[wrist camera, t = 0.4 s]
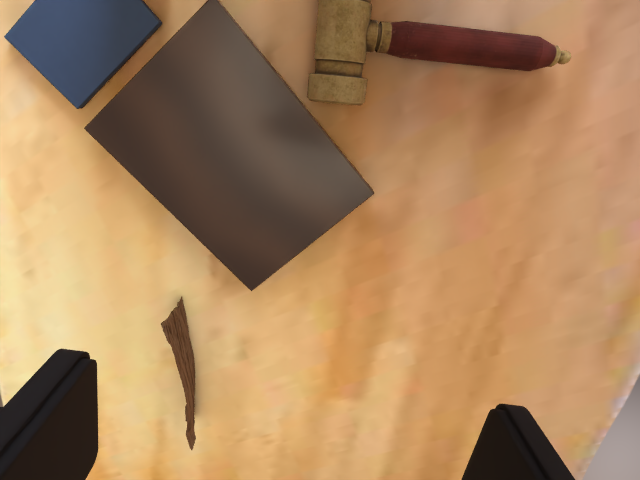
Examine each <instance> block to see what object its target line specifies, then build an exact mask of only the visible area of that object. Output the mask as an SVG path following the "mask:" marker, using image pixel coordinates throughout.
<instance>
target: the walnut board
mask: <svg viewBox="0 0 640 480" xmlns="http://www.w3.org/2000/svg"><path fill="white" fill-rule="evenodd" d="M84 129H85V130H86V131H87V132H88V133H89V134H90V135H91V136H92V137H93V138H94V139H95V140H97V141H98V142H99V143H100V144H101V145H102V146H103V147H104V148H105V149H106V150H107V151H108V152H109V153H110V154H111V155H112V156H113V157H114V158H115V159H116V160H117V161H118V162H119V163H120V164H121V165H122V166H123V167H124V168H125V169H126V170H127V171H128V172H129V173H130V174H131V175H133V176H134V177H135V178H136V179H137V180H138V181H139V182H140V183H141V184H142V185H143V186H144V187H145V188H146V189H147V190H148V191H149V192H150V193H151V194H152V195H153V196H154V197H155V198H156V199H157V200H158V201H159V202H160V203H161V204H162V205H163V206H164V207H165V208H166V209H167V210H169V211H170V212H171V213H172V214H173V215H174V216H175V217H176V218H177V219H178V220H179V221H180V222H181V223H182V224H183V225H184V226H185V227H186V228H187V229H188V230H189V231H190V232H191V233H192V234H193V235H194V236H195V237H196V238H197V239H198V240H199V241H200V242H201V243H202V244H203V245H204V246H206V247H207V248H208V249H209V250H210V251H211V252H212V253H213V254H214V255H215V256H216V257H217V258H218V259H219V260H220V261H221V262H222V263H223V264H224V265H225V266H226V267H227V268H228V269H229V270H230V271H231V272H232V273H233V274H234V275H235V276H236V277H237V278H238V279H239V280H240V281H242V282H243V283H244V284H245V285H246V286H247V287H248V288H249V289H250V290H251V291H252V290H254V289H255V288H256V287H257V286H259V285H260V284H261V283H262V282H264V281H265V280H266V279H267V278H269V277H270V276H271V275H272V274H274V273H275V272H276V271H277V270H279V269H280V268H281V267H282V266H284V265H285V264H286V263H288V262H289V261H290V260H291V259H293V258H294V257H295V256H296V255H298V254H299V253H300V252H301V251H303V250H304V249H305V248H306V247H308V246H309V245H310V244H311V243H313V242H314V241H315V240H316V239H318V238H319V237H320V236H321V235H323V234H324V233H325V232H327V231H328V230H329V229H330V228H332V227H333V226H334V225H335V224H337V223H338V222H339V221H340V220H342V219H343V218H344V217H345V216H347V215H348V214H349V213H350V212H352V211H353V210H354V209H355V208H357V207H358V206H359V205H361V204H362V203H363V202H364V201H366V200H367V199H368V198H369V197H371V196H372V195H373V194H374V192H373V190H372V189H371V187H370V186H369V185H368V184H367V182H366V181H365V180H364V179H363V178H362V176H361V175H360V174H359V173H358V171H357V170H356V169H355V168H354V166H353V165H352V164H351V163H350V162H349V160H348V159H347V158H346V157H345V155H344V154H343V153H342V152H341V150H340V149H339V148H338V147H337V146H336V144H335V143H334V142H333V141H332V139H331V138H330V137H329V136H328V134H327V133H326V132H325V131H324V130H323V128H322V127H321V126H320V125H319V123H318V122H317V121H316V120H315V118H314V117H313V116H312V115H311V114H310V112H309V111H308V110H307V109H306V107H305V106H304V105H303V104H302V102H301V101H300V100H299V99H298V98H297V96H296V95H295V94H294V93H293V91H292V90H291V89H290V88H289V86H288V85H287V84H286V83H285V82H284V80H283V79H282V78H281V77H280V75H279V74H278V73H277V72H276V70H275V69H274V68H273V67H272V66H271V64H270V63H269V62H268V61H267V59H266V58H265V57H264V56H263V54H262V53H261V52H260V51H259V50H258V48H257V47H256V46H255V45H254V43H253V42H252V41H251V40H250V39H249V37H248V36H247V35H246V34H245V32H244V31H243V30H242V29H241V27H240V26H239V25H238V24H237V23H236V21H235V20H234V19H233V18H232V16H231V15H230V14H229V13H228V11H227V10H226V9H225V8H224V7H223V5H222V4H221V3H220V2H219V0H208V1H207V2H206V3H205V4H204V5H203V6H202V7H201V8H200V9H199V10H198V11H197V12H196V13H195V14H194V15H193V16H192V17H191V18H190V19H189V20H188V22H187V23H186V24H185V25H184V26H183V27H182V28H181V29H180V30H179V31H178V32H177V33H176V34H175V35H174V36H173V37H172V38H171V39H170V40H169V41H168V42H167V43H166V44H165V45H164V46H163V47H162V48H161V49H160V50H159V51H158V52H157V54H156V55H155V56H154V57H153V58H152V59H151V60H150V61H149V62H148V63H147V64H146V65H145V66H144V67H143V68H142V69H141V70H140V71H139V72H138V73H137V74H136V75H135V76H134V77H133V78H132V79H131V80H130V81H129V82H128V83H127V84H126V85H125V87H124V88H123V89H122V90H121V91H120V92H119V93H118V94H117V95H116V96H115V97H114V98H113V99H112V100H111V101H110V102H109V103H108V104H107V105H106V106H105V107H104V108H103V109H102V110H101V111H100V112H99V113H98V114H97V115H96V116H95V117H94V119H93V120H92V121H91V122H90V123H89V124H88V125H87V126H86V127H85V128H84Z"/></svg>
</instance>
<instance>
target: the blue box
mask: <svg viewBox="0 0 640 480" xmlns="http://www.w3.org/2000/svg"><path fill="white" fill-rule="evenodd" d="M161 25H162V22H161V21H160V20H159V18H158V17H157V16H156V15H155V14H154V13H153V12H152V10H151V9H150V8H149V7H148V6H147V5H146V4H145V2H144V1H143V0H35V1H34V2H33V3H32V5H31V6H30V7H29V8H28V9H27V10H26V12H25V13H24V14H23V15H22V16H21V18H20V19H19V20H18V21H17V22H16V23H15V25H14V26H13V27H12V28H11V29H10V31H9V32H8V33H7V34H6V35H5V36H4V37H5V38H6V39H7V40H8V41H9V42H10V43H11V44H12V45H13V46H14V47H15V48H16V49H17V50H18V51H19V52H20V53H21V54H22V55H23V56H24V57H25V58H26V59H27V60H28V61H29V62H30V63H31V64H32V65H33V66H34V67H35V68H36V69H37V70H38V71H39V72H40V73H41V74H42V75H43V76H44V77H45V78H46V79H47V80H48V81H49V82H50V83H51V84H52V85H53V86H54V87H55V88H56V89H57V90H58V91H60V92H61V93H62V94H63V95H64V96H65V97H66V98H67V99H68V100H69V101H70V102H71V103H72V104H73V105H74V106H75V107H76V108H77V109H80V108H83V107H84V106H85V105H86V103H87V102H88V101H89V100H90V99H91V98H92V97H93V96H94V95H95V94H96V93H97V92H98V91H99V90H100V89H101V88H102V87H103V86H104V85H105V84H106V82H107V81H108V80H109V79H110V78H111V77H112V76H113V75H114V74H115V73H116V72H117V71H118V70H119V69H120V68H121V67H122V66H123V65H124V64H125V63H126V61H127V60H128V59H129V58H130V57H131V56H132V55H133V54H134V53H135V52H136V51H137V50H138V49H139V48H140V47H141V46H142V45H143V44H144V43H145V42H146V40H147V39H148V38H149V37H150V36H151V35H152V34H153V33H154V32H155V31H156V30H157V29H158V28H159V27H160V26H161Z"/></svg>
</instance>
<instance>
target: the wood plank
mask: <svg viewBox="0 0 640 480" xmlns="http://www.w3.org/2000/svg"><path fill="white" fill-rule="evenodd" d="M177 305H178V307H177V308H175V309H174V310H173V311H172V312H171V314H170V315H169V317H168V318H167V319H166V320H165V321H163V322H162V323H161V325H162V328H163V332H164V333H165V336H166V338H167V341H168V343H169V344H170V345H171V347H172V350H173V353H174V356H175V360H176V364H177V367H178V371H179V374H180V378H181V380H182V384H183V387H184V392H185V397H186V403H187V404H186V406H185V414H186V421H187V430H186V436H187V440H188V443H189V446H190V449H191V450H192V449H193V445H194V443H195V439H196V437H195V432H194V423H195V421H194V392H195V368H194V367H195V366H194V356H193V351H192V347H191V343H190V338H189V333H188V325H187V320H186V313H185V309H184V305H183V300H182V297H181V299H180V301H179V302H178V303H177Z"/></svg>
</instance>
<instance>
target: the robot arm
mask: <svg viewBox="0 0 640 480" xmlns="http://www.w3.org/2000/svg"><path fill="white" fill-rule="evenodd" d="M97 453H98V402H97V362H96V360H93V359H90V355H89V353H88V352H83V351H75V350H67V349H59V350H57V351H56V352H55V353H54V354H53V355H52V356H51V357H50V358H49V359H48V360H47V361H46V362H45V363H44V365H43V366H42V367H41V368H40V369H39V370H38V371H37V372H36V373H35V374H34V375H33V376H32V377H31V378H30V379H29V380H28V382H27V383H26V384H25V385H24V386H23V387H22V388H21V389H20V390H19V391H18V392H17V393H16V394H15V395H14V396H13V398H12V399H11V400H10V401H9V402H8V403H7V404H6V405H5V406H4V407H0V480H85V479H86V478H87V476H88V474H89V472H90V470H91V469H92V467H93V465H94V463H95V460H96V457H97ZM462 480H575V479H574V477H573V476H572V474H571V473H570V471H569V470H568V468H567V467H566V466H565V464H564V463H563V461H562V460H561V458H560V457H559V455H558V454H557V452H556V451H555V449H554V448H553V446H552V445H551V443H550V442H549V440H548V439H547V437H546V436H545V434H544V433H543V431H542V430H541V428H540V427H539V425H538V424H537V423H536V421H535V420H534V418H533V417H532V415H531V414H530V412H529V411H528V410H527V409H526V408H525V407H523V406H516V405H508V404H499V405H497V406H496V408H495V409H492V410H490V412H489V414H488V416H487V418H486V421H485V423H484V426H483V428H482V431H481V433H480V436H479V438H478V440H477V443H476V445H475V448H474V450H473V453H472V455H471V458H470V460H469V463H468V465H467V467H466V470H465V472H464V475H463V477H462Z"/></svg>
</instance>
